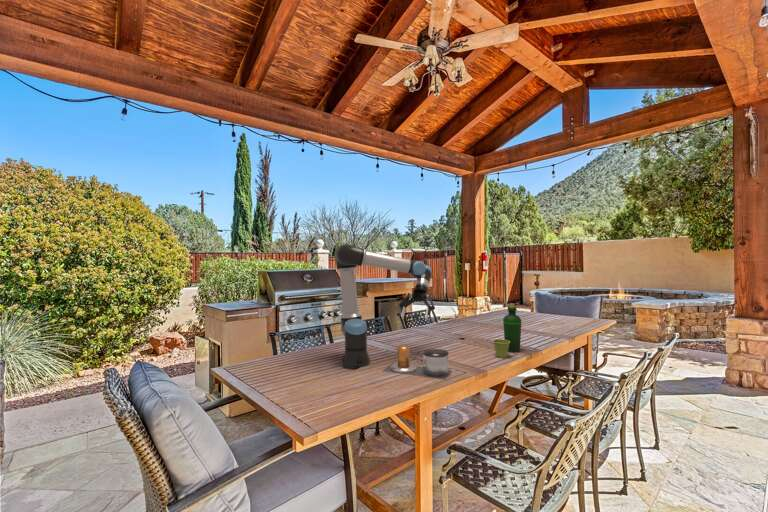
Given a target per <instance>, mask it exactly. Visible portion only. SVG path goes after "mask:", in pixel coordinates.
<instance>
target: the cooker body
mask: <svg viewBox="0 0 768 512" xmlns="http://www.w3.org/2000/svg"><path fill="white" fill-rule="evenodd" d="M422 360H423V361H422V367H423V373H424V375H426V376H429V377H445V376H447V375H448V370H449V352H448V351H447V350H445V349H439V348H429V349H428V348H427V349H426V350H423V351H422ZM429 377H428V378H429Z"/></svg>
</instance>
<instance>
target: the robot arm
mask: <svg viewBox="0 0 768 512" xmlns="http://www.w3.org/2000/svg"><path fill="white" fill-rule="evenodd" d="M333 254H334V260H335V268H336V270H337V271H338V272H339V281H340V290H341V301H342V311H343V313H342V315H341V317H340V318H341V319H340V320H341V321H340V322H341V326H340V329H341V332H342V335H343V336H344V353H343V356H342V360H341V367H342V368H345V369H350V370H359V369H360V368H363V367H366V366H367V367H368V366H369V365H370V364H371V359H370V355H369V353H368V352H369V351H368V348H367V347H368V346H367V345H368V342H367V341H368V337H367V336H368V331H367V330H368V326H367V325H368V324H367V322H366V321H365V320H364V319H363V317H362V313H360V311H359V305H358V304H359V302H358V296H357V295H358V292H357V284H356V283H357V281H356V273H355V271H356V269H357V267H358V266H359V267H362V266H367V267H373V268H379V269H385V270H389V271H390V270H391V271H394V272H395V271H396V272H399V273H400V272H401V273H405V274H408V275H411V276H412V277H414V278H416V281H415V286H414V290H413V293H410V292H408V293H407V294H406V296H405V297H404V299H402V301H401V302H400V303H399V304H398V306H399V308H400V309H401V310H400V313H401V314H400V317H401V320H404V318H405V314H406V311H407V310H406V309H407V307H410V306H411V305H412V304H413V303H415V302H416V303H417V302H420V303H421V302H423V303H424V304H425V306H426V311H425V315H424V319H425V321H428V319H429V315H431V313H432V310H436V306H435V304H434V301H433V299H432V297H433V296H432V294H431V293H428V290H429V285H430V283H431V281H430V280H431V278H432V273H433V271H432V268H431V266H430V265H426V264H425V263H424V262H423V261H419V260H414V259H410V258H404V257H399V256H394V255H387V254H383V253H378V252H373V251H367V250H366V249H365V248H363V247H358V246H356V245H353V244H351V243H344V244H341V245H339V246H338V247H336V249H335V251H334V253H333ZM427 298H428V300H429V302H428V301H427V300H426V299H427Z"/></svg>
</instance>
